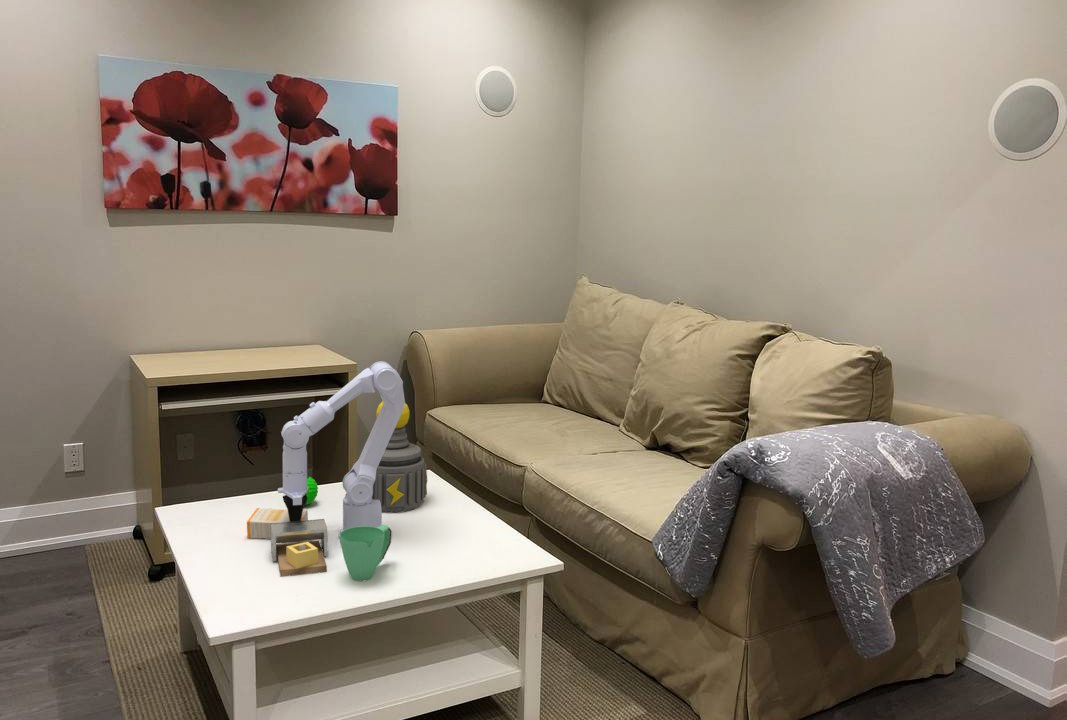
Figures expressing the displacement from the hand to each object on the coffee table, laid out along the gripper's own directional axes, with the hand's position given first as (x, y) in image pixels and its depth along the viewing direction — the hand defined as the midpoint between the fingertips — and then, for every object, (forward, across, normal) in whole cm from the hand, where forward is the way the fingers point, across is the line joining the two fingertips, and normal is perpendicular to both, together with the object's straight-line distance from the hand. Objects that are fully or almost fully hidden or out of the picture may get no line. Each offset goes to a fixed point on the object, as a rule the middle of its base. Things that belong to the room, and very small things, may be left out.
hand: (295, 524), depth 217 cm
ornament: (+4, -27, +4) cm, 28 cm away
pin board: (+4, +13, 0) cm, 14 cm away
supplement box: (+2, -8, -10) cm, 13 cm away
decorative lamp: (+4, -23, +28) cm, 37 cm away
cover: (+4, +9, 0) cm, 10 cm away
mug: (+4, +24, +14) cm, 28 cm away
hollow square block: (+3, +18, 0) cm, 18 cm away
